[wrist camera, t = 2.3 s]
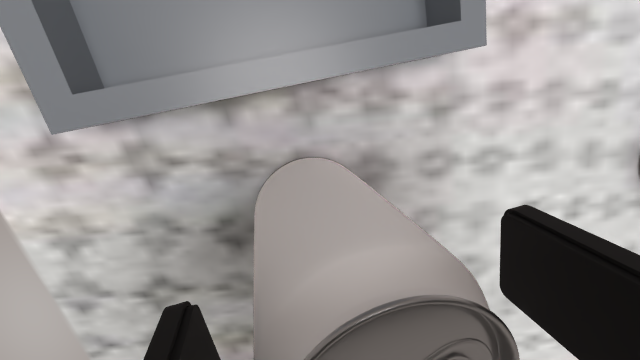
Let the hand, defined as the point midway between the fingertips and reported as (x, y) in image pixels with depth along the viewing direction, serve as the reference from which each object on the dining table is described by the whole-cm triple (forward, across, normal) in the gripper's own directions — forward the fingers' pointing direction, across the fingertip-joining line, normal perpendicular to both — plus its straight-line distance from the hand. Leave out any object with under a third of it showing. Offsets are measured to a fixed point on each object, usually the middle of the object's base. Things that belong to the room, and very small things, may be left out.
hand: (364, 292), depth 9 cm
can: (+9, 0, +1) cm, 9 cm away
